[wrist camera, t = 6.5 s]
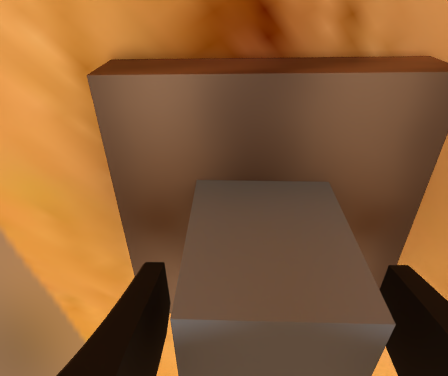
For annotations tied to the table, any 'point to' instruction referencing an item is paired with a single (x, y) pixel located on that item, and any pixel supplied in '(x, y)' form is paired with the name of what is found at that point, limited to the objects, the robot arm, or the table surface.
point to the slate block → (275, 285)
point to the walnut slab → (270, 140)
